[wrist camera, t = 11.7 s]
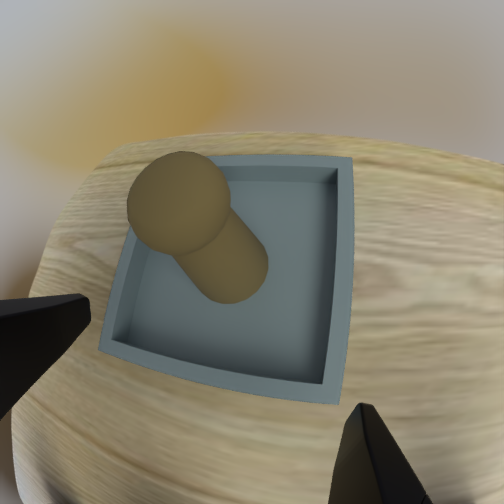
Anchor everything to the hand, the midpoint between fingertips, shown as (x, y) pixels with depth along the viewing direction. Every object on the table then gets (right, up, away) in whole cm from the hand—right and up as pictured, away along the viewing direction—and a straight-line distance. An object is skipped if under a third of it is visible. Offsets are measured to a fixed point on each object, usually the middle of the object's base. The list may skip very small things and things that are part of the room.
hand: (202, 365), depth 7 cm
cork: (0, +2, +14) cm, 14 cm away
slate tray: (0, +2, +15) cm, 15 cm away
